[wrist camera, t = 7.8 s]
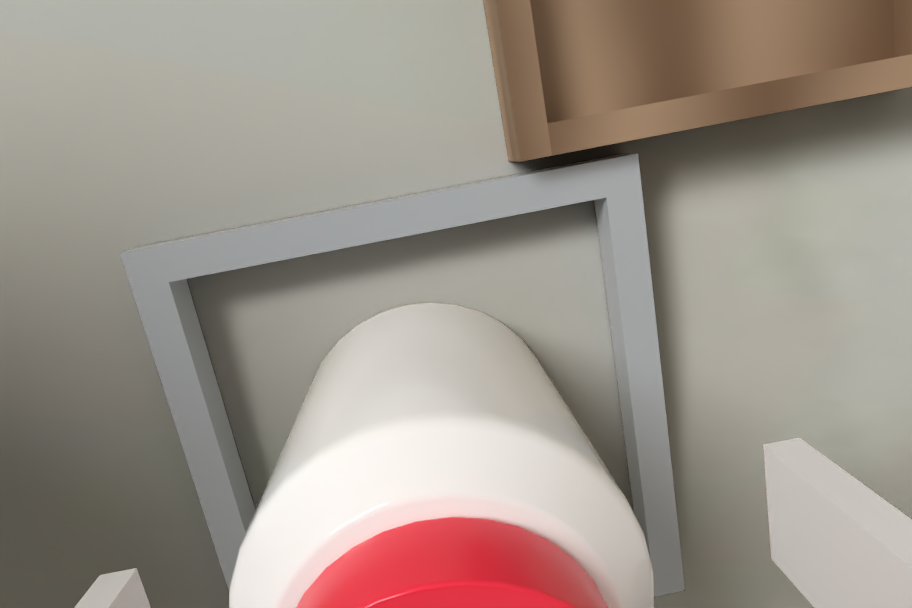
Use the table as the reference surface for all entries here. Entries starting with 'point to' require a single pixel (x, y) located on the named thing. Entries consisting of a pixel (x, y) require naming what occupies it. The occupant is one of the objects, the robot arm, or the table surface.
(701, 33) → the brown divided tray
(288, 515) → the pill bottle
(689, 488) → the table surface
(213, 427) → the tray
